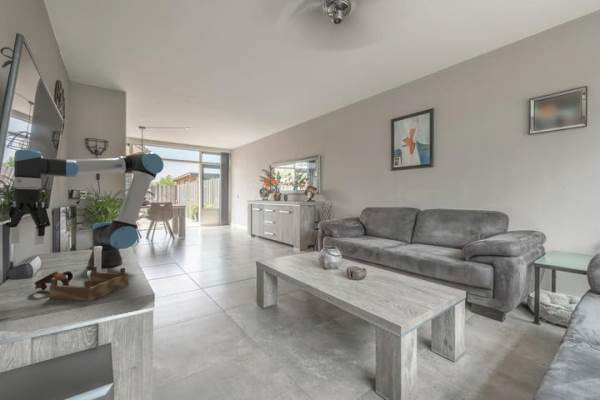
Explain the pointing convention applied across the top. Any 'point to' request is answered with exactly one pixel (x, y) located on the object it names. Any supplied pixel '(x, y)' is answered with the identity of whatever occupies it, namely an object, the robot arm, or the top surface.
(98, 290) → the brown wooden tray
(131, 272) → the top surface
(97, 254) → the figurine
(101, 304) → the top surface
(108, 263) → the robot arm
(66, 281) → the broken pottery fragment
